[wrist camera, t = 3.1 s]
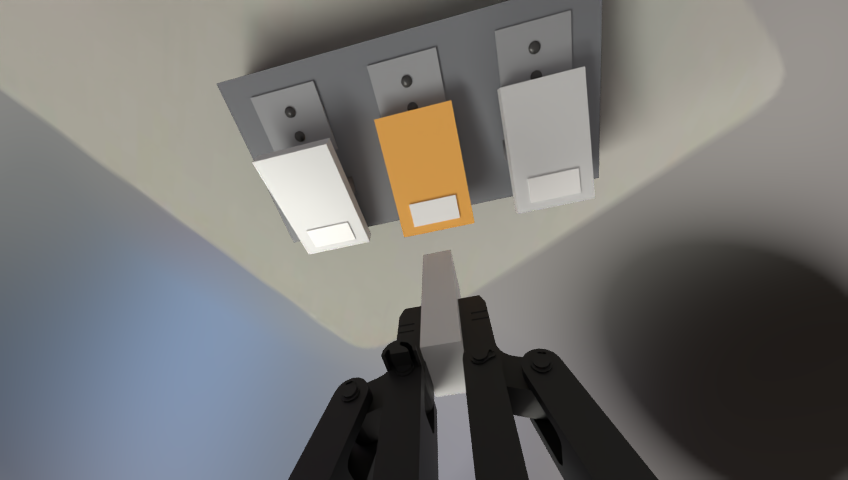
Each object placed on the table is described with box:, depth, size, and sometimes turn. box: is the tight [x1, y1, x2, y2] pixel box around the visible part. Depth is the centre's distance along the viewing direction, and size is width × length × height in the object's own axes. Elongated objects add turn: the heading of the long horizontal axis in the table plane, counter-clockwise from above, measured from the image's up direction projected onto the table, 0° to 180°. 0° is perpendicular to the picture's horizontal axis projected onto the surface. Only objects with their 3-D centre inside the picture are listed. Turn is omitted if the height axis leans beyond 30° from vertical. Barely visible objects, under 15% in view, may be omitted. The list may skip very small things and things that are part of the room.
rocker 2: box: [374, 100, 474, 237], centre depth 22 cm, size 8×5×1 cm, turn 14°
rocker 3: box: [497, 66, 595, 214], centre depth 21 cm, size 8×5×1 cm, turn 14°
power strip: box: [217, 0, 602, 242], centre depth 23 cm, size 12×24×4 cm, turn 103°
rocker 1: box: [252, 138, 371, 254], centre depth 23 cm, size 8×5×1 cm, turn 13°
